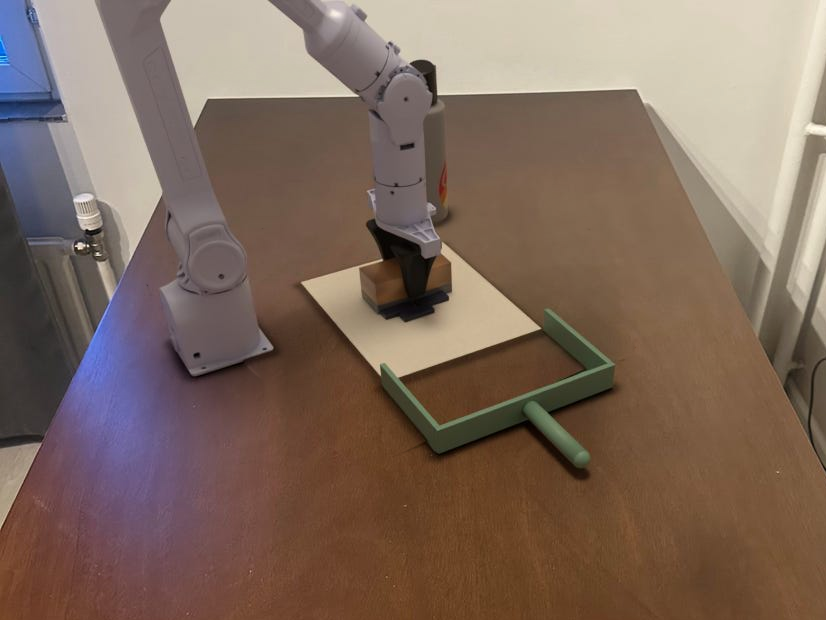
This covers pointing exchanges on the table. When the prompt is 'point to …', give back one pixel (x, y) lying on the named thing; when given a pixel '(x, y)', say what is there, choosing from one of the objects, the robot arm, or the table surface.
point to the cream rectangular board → (422, 319)
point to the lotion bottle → (434, 144)
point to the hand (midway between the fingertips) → (406, 285)
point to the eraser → (399, 282)
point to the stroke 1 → (396, 310)
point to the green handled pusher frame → (518, 400)
